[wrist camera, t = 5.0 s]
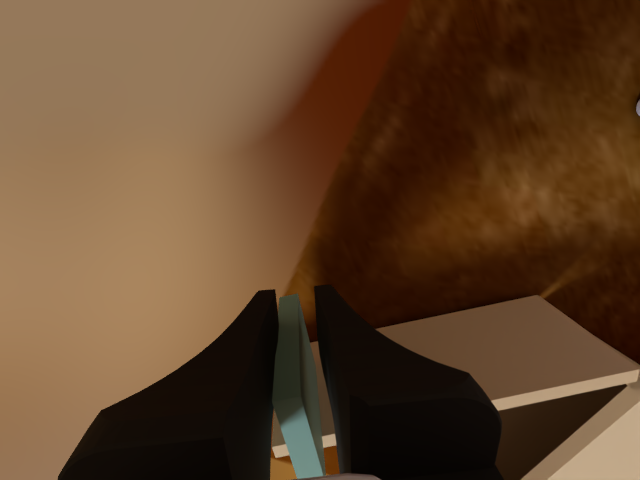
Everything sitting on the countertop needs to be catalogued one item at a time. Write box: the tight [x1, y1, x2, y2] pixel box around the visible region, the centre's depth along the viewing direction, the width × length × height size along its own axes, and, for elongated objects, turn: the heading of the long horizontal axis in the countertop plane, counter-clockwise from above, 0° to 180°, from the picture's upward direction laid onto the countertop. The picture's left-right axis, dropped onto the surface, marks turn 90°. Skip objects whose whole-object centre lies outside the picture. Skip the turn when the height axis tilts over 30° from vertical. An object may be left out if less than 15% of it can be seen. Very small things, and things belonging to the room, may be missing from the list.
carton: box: [495, 334, 640, 480], centre depth 18 cm, size 14×12×6 cm
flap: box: [272, 294, 640, 479], centre depth 13 cm, size 14×5×7 cm, turn 101°
